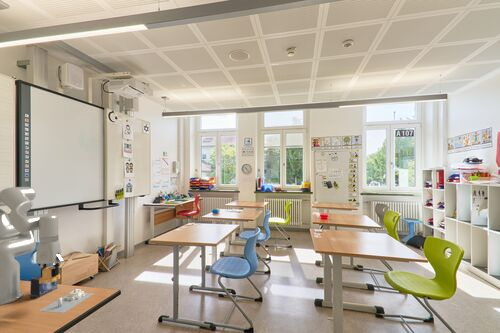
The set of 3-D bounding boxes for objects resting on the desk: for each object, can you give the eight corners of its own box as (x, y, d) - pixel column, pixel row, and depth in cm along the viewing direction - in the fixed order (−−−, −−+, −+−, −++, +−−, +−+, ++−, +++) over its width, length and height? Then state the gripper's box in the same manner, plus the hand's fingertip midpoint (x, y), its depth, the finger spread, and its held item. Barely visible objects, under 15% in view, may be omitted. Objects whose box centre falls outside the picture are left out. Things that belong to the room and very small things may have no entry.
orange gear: (34, 283, 115) (34, 271, 116) (51, 276, 123) (50, 264, 124) (48, 283, 114) (48, 271, 114) (64, 276, 122) (63, 265, 122)
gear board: (38, 313, 115) (38, 302, 115) (72, 294, 132) (72, 284, 132) (63, 315, 112) (63, 304, 113) (94, 295, 130) (94, 286, 130)
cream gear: (63, 300, 124) (63, 294, 124) (75, 293, 131) (75, 287, 131) (75, 301, 123) (75, 295, 123) (87, 293, 130) (87, 288, 130)
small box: (38, 299, 128) (39, 279, 128) (29, 298, 129) (29, 278, 130) (58, 289, 138) (58, 271, 139) (49, 288, 140) (49, 270, 140)
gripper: (26, 242, 117) (27, 279, 116) (56, 241, 114) (57, 279, 114) (42, 237, 125) (43, 272, 124) (70, 237, 122) (71, 273, 121)
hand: (49, 275), depth 119 cm, fingers closed on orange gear, 5 cm apart
